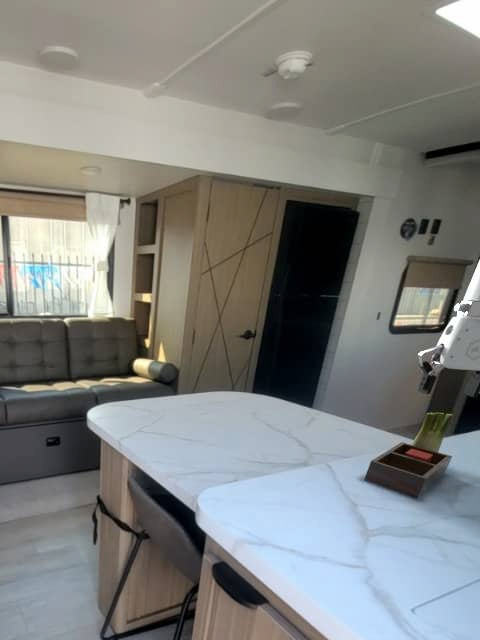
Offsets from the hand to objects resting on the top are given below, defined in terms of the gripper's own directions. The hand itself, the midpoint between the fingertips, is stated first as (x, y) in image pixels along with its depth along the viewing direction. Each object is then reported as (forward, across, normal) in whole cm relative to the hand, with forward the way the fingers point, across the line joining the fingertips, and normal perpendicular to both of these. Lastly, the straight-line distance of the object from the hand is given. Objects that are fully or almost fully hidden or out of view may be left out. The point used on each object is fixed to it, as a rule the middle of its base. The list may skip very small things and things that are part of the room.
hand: (446, 394), depth 89 cm
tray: (+16, -8, -10) cm, 21 cm away
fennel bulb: (+16, 0, 0) cm, 16 cm away
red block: (+16, -5, -7) cm, 18 cm away
